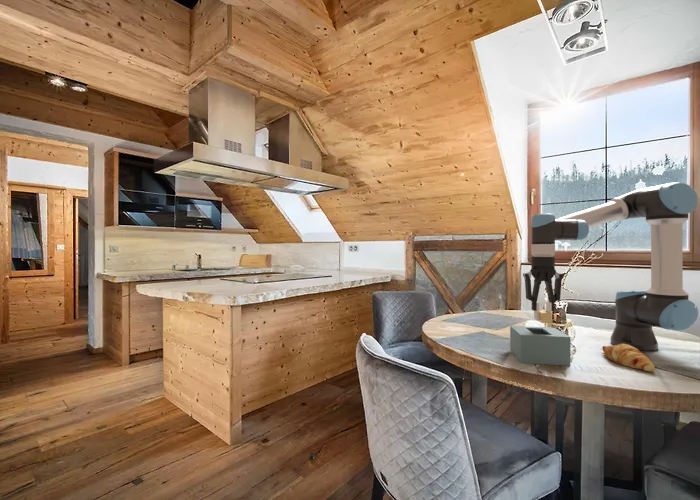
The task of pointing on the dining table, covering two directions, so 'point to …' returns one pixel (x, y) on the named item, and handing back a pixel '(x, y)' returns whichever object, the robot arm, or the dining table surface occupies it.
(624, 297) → the robot arm
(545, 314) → the pale yellow block
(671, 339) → the dining table surface
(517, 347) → the coin box
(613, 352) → the croissant
